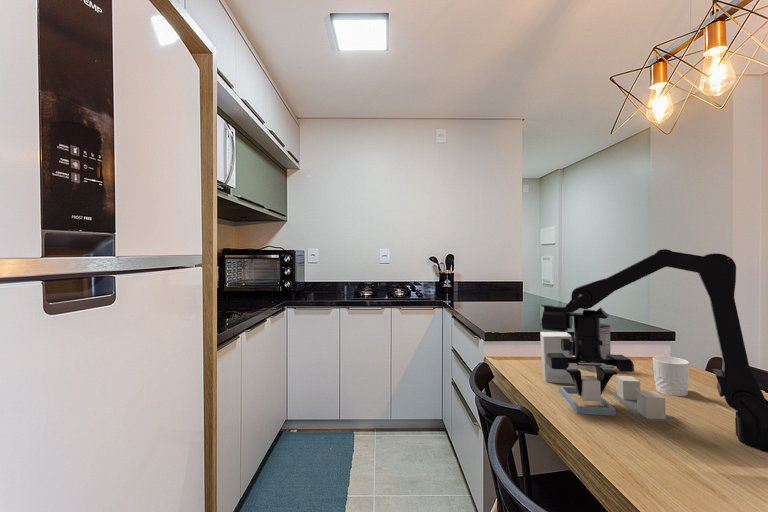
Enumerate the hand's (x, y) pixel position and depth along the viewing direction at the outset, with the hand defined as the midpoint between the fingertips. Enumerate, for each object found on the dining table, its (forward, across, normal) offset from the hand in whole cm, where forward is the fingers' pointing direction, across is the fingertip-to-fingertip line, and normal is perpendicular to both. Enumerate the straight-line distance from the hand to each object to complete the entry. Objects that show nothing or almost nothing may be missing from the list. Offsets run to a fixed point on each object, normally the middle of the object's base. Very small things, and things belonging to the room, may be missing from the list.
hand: (589, 395), depth 88 cm
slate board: (+4, -12, -2) cm, 13 cm away
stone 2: (+3, -12, -8) cm, 15 cm away
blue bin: (+4, 0, -3) cm, 5 cm away
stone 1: (+1, 0, 0) cm, 1 cm away
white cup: (+4, -26, -14) cm, 30 cm away
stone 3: (+3, -12, +3) cm, 13 cm away
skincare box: (+4, +2, -20) cm, 21 cm away
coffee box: (+4, -14, -36) cm, 39 cm away
